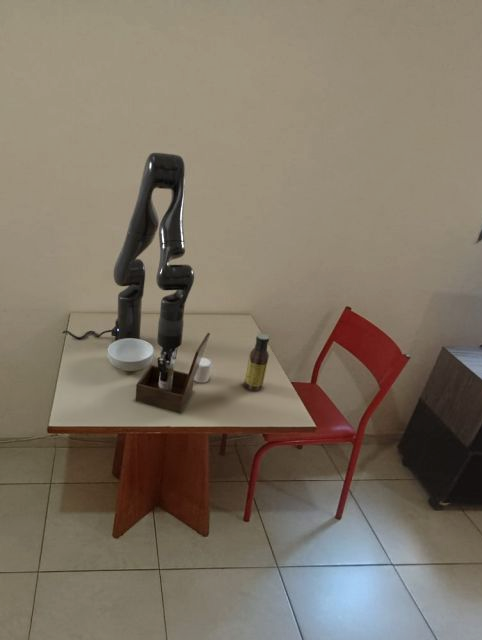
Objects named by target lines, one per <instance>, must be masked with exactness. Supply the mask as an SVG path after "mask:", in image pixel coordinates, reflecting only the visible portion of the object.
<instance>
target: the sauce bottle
mask: <svg viewBox="0 0 482 640" xmlns="http://www.w3.org/2000/svg"><path fill="white" fill-rule="evenodd" d="M269 342H270V336H269V335H268V334H266V333H258V334H256V337H255V345H254V348H252V350H251V351H250V353H249V357H248V360H247V361H248V362H247V367H246V371H245V378H244V386H245V388H246V389H247V390H250V391H253V392H256V391H257V392H258V391H260V390H261V389H262V388H263V385H264V381H265V377H266V373H267V368H268V363H269V359H270V355H269V352H268V343H269Z"/></svg>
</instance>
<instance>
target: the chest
mask: <svg viewBox="0 0 482 640" xmlns="http://www.w3.org/2000/svg"><path fill="white" fill-rule="evenodd" d="M188 374H189V373H186V372H183V371H178V370H175V369H173V380H172V388H171V392H168V391H164V390H161V389H159V377H160V372H158V365H154V364H150V365H149V366H148V368H147V370H146V371H144V374H143V375H142V376H141V377H140V379H139V380H138V381H137V383H136V386H135V402H138V403H141V404H144V405H148V406H152V407H155V408H159V409H163V410H166V411H170V412H174V413H177V414H182V411H183V409H184V407H185V405H186V403H187V402H188V400H189V398H190V396H191V395H192V393H193V388H194V378H193V380H192V382H191V384H190V385H189V387H188V389H187V391H186V392H185V394H184V396H183V395H181V394H182V391H183V388H184V385H185V382H186V379H187V376H188Z"/></svg>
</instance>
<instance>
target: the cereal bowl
mask: <svg viewBox="0 0 482 640" xmlns="http://www.w3.org/2000/svg"><path fill="white" fill-rule="evenodd" d="M154 351H155V349H154V347H153V345H152V344H151V343H150V342H148V341H146V340H144V339H141V338H140V339H134V338H127V339H120V340H117V341H115V340H114V341H112V343H110V344H109V346H108V348H107V356H108V360H109V362H110V363H111V365H112V366H113V367H115V368H116V369H119V370H120V371H121V370H122V371H126V372H136V371H140V370H143V369H145V368H147V367H149V366H150V365H151V363H152V361H153V358H154V355H155V354H154V353H155V352H154Z"/></svg>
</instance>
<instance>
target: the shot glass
mask: <svg viewBox="0 0 482 640" xmlns="http://www.w3.org/2000/svg"><path fill="white" fill-rule="evenodd" d="M213 364H214V363H213V360H212V359H210V358H208V357H204V356H202V358H201V361H200V364H199V367H198V369H197V372H196V375H195V377H194V381H195V382H196V383H201V384H202V383H203V384H204V383H207V382H208V381H209V379H210V375H211V371H212V368H213Z"/></svg>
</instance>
